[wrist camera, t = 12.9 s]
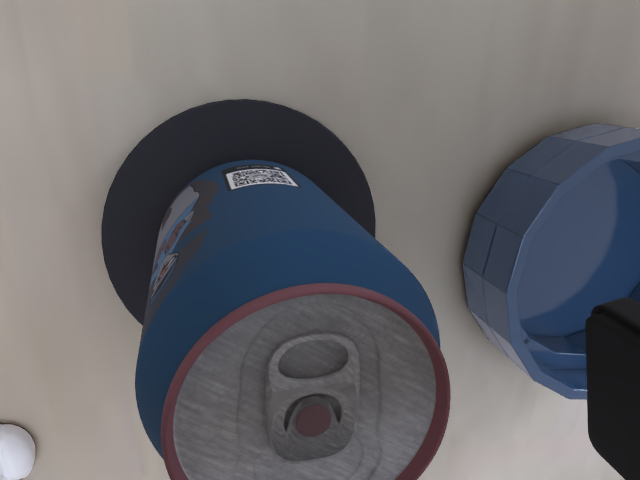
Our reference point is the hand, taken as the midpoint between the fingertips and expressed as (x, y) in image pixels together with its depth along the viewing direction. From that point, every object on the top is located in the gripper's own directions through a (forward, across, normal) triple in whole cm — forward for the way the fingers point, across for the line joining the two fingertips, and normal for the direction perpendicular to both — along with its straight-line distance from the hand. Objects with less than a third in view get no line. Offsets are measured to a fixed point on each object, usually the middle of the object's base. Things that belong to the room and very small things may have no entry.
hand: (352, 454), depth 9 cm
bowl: (+14, -14, +5) cm, 21 cm away
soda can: (+13, +1, 0) cm, 13 cm away
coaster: (+14, +1, 0) cm, 14 cm away
